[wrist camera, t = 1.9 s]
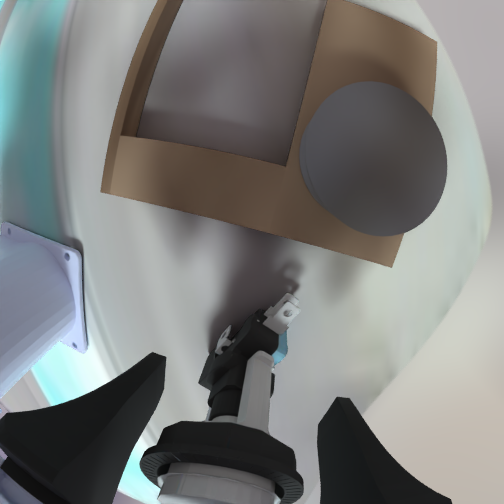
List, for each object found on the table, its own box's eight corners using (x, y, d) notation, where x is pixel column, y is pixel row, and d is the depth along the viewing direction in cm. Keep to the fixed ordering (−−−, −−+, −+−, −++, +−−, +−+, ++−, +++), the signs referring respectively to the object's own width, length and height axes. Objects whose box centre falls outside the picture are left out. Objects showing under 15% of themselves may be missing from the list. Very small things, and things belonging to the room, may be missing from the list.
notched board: (116, 189, 13) (65, 198, 9) (176, -5, 9) (149, -43, 5) (380, 257, 12) (416, 291, 9) (424, 51, 9) (462, 24, 5)
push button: (251, 261, 13) (197, 446, 4) (332, 319, 14) (378, 495, 4) (185, 345, 15) (113, 489, 5) (257, 389, 16) (237, 535, 6)
